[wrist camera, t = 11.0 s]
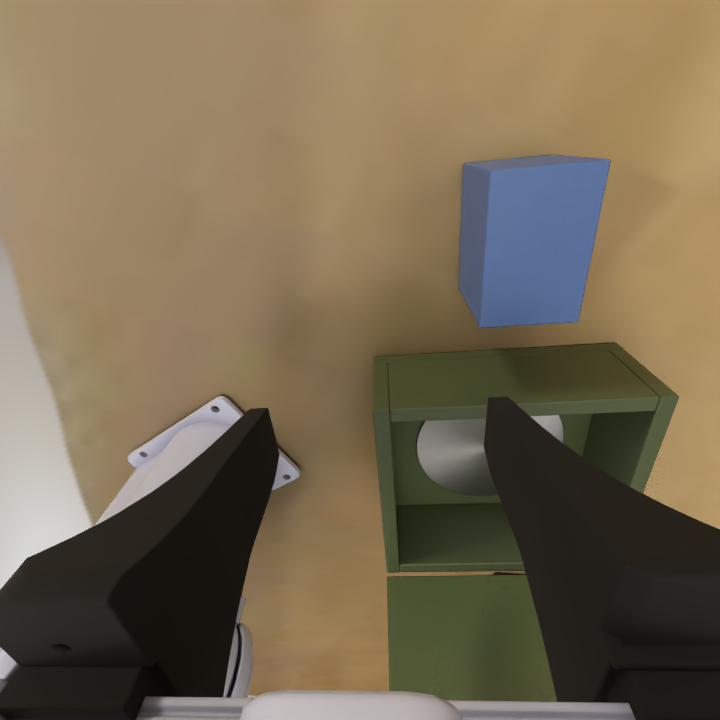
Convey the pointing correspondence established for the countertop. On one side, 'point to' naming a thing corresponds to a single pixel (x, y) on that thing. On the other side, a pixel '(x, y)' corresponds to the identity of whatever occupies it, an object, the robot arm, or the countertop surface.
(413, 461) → the box
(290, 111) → the countertop surface
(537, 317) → the block
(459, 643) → the lunchbox lid
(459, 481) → the silver plate
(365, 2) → the countertop surface
